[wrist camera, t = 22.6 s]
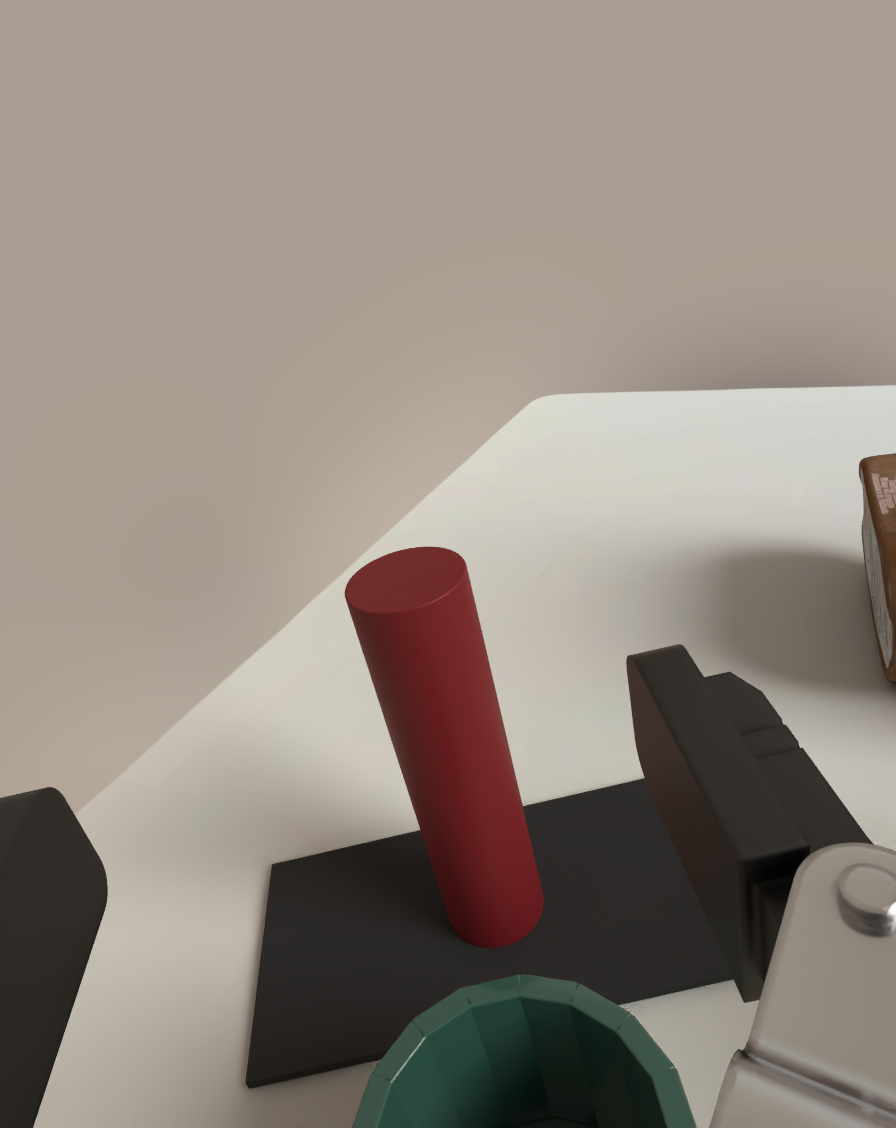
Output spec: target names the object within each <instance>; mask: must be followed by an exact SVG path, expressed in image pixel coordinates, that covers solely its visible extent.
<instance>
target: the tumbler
mask: <svg viewBox="0 0 896 1128" xmlns="http://www.w3.org/2000/svg"><path fill="white" fill-rule="evenodd" d="M412 1021H413V1022H412ZM412 1021H411V1022H410V1023H409V1024H408V1026H407V1027H406V1028H405V1030H404V1031H403V1032H402V1033H401V1035H400V1036H399V1037H398V1039H397V1040H396V1041H395V1043H394V1044H393V1045H392V1046H391V1048H390V1049H389V1050H388V1052H387V1053H386V1054H385V1055H384V1057H383V1058H382V1059H381V1061H380V1062H379V1063H378V1064H377V1066H376V1067H375V1068H374V1070H373V1072H372V1073H373V1074H371V1075H370V1078H369V1081H368V1084H367V1086H366V1089H365V1092H364V1095H363V1098H362V1101H361V1103H360V1106H359V1109H358V1112H357V1115H356V1118H355V1121H354V1123H353V1126H352V1128H697V1127H696V1124H695V1121H694V1118H693V1115H692V1112H691V1109H690V1106H689V1103H688V1100H687V1097H686V1094H685V1091H684V1088H683V1085H682V1082H681V1079H680V1076H679V1074H678V1071H677V1069H676V1068H675V1066H674V1064H673V1063H672V1062H671V1061H670V1059H669V1058H668V1057H667V1056H666V1055H665V1053H664V1052H663V1051H662V1050H661V1048H660V1047H659V1046H658V1045H657V1043H656V1042H655V1041H654V1040H653V1038H652V1037H651V1036H650V1035H649V1034H648V1032H647V1031H646V1030H645V1029H644V1027H643V1026H642V1025H641V1024H640V1022H639V1021H638V1020H637V1019H636V1018H635V1016H633V1015H632V1014H631V1013H630V1012H628V1011H627V1010H625V1009H623V1008H621V1007H620V1006H618V1005H616V1004H614V1003H613V1002H611V1001H609V1000H608V999H606V998H604V997H602V996H601V995H599V994H597V993H595V992H594V991H592V990H590V989H589V988H587V987H585V986H583V985H582V984H578V983H576V982H572V981H565V980H559V979H552V978H545V977H539V976H532V975H525V974H521V975H513V976H509V977H504V978H500V979H495V980H491V981H487V982H482V983H478V984H473V985H469V986H465V987H464V988H463V987H461V988H460V989H458V990H457V991H455V992H454V993H452V994H451V995H449V996H447V997H446V998H444V999H443V1000H441V1001H440V1002H438V1003H437V1004H435V1005H434V1006H432V1007H431V1008H429V1009H428V1010H426V1011H424V1012H423V1013H421V1014H420V1015H418V1016H417V1017H415V1018H414V1019H413V1020H412Z"/></svg>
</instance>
